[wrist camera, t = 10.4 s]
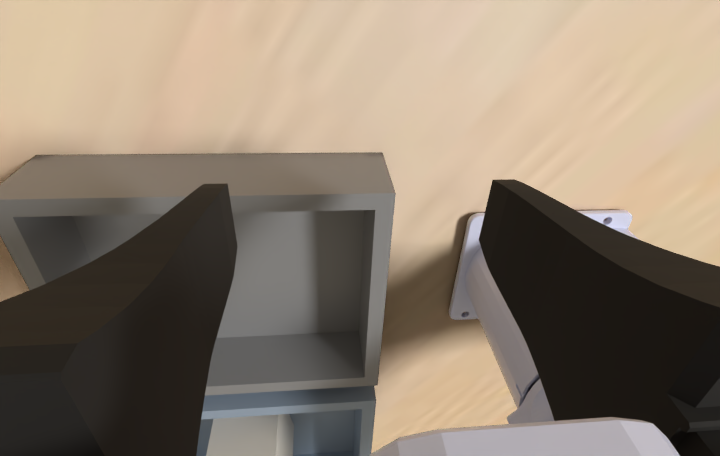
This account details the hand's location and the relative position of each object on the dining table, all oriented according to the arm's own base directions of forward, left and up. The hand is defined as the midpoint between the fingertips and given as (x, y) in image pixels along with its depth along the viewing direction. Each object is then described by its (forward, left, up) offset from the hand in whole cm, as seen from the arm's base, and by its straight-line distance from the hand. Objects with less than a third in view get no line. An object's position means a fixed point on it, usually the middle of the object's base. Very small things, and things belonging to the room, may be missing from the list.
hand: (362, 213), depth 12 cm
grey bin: (+6, +9, -9) cm, 14 cm away
